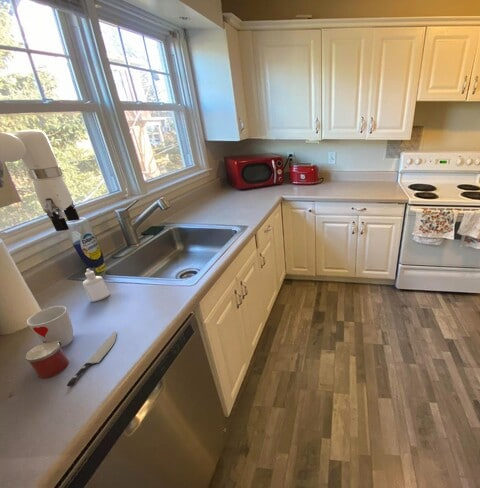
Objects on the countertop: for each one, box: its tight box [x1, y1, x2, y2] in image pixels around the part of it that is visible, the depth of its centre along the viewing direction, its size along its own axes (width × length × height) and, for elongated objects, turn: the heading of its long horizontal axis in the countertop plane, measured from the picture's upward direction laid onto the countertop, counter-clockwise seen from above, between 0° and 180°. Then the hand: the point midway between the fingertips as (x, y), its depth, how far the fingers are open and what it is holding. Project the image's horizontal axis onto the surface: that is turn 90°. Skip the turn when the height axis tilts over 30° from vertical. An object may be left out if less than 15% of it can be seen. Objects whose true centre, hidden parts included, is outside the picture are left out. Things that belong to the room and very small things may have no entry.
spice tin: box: [25, 341, 69, 379], centre depth 72 cm, size 6×6×7 cm
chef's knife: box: [66, 331, 117, 387], centre depth 76 cm, size 19×1×3 cm
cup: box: [26, 305, 74, 348], centre depth 79 cm, size 8×8×10 cm
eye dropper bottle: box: [82, 268, 110, 303], centre depth 98 cm, size 4×6×12 cm
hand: (68, 225), depth 93 cm, fingers open, 9 cm apart
